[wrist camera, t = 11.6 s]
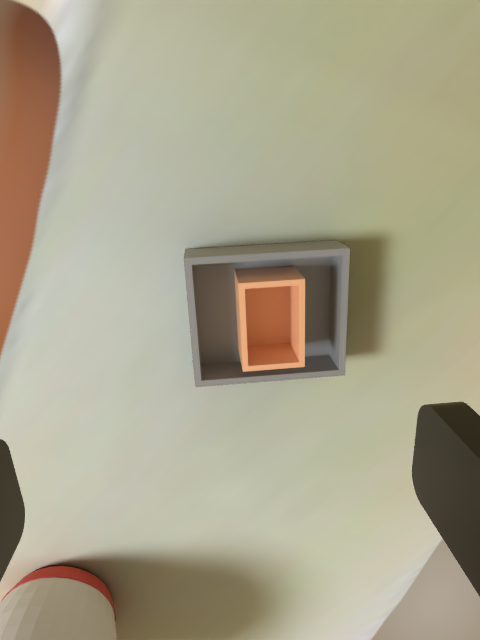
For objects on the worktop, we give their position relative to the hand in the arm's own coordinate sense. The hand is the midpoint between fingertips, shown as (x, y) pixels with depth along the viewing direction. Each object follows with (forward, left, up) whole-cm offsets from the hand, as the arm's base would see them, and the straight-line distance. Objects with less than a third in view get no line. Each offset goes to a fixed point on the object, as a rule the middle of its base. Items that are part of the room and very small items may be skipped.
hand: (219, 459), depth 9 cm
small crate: (+8, +5, -32) cm, 34 cm away
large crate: (+8, +5, -33) cm, 34 cm away
